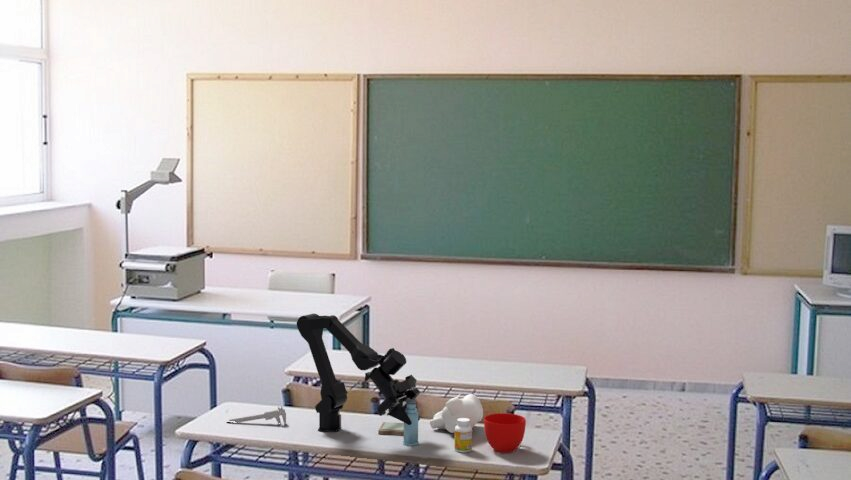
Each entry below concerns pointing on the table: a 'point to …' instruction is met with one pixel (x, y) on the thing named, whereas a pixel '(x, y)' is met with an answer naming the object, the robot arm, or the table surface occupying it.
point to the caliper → (264, 416)
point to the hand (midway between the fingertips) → (414, 422)
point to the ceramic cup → (504, 431)
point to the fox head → (458, 413)
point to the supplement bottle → (463, 435)
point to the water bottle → (412, 429)
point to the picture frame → (391, 428)
